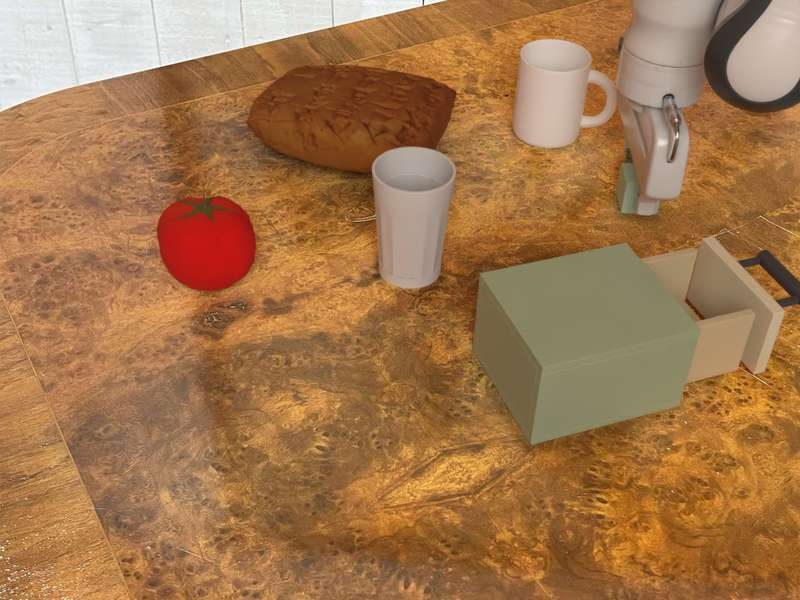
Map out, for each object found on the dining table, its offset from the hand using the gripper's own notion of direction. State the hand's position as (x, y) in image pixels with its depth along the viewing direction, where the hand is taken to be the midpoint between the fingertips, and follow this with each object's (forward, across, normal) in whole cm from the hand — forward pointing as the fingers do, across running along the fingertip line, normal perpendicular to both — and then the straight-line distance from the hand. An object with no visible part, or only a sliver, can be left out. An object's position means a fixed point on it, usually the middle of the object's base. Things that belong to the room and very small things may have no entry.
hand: (636, 186), depth 117 cm
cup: (+3, -13, +25) cm, 28 cm away
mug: (+2, +14, +7) cm, 16 cm away
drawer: (+1, -24, -2) cm, 24 cm away
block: (+2, 0, 0) cm, 2 cm away
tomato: (+3, -15, +45) cm, 47 cm away
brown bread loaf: (+3, +9, +32) cm, 33 cm away
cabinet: (+2, -28, +10) cm, 30 cm away
